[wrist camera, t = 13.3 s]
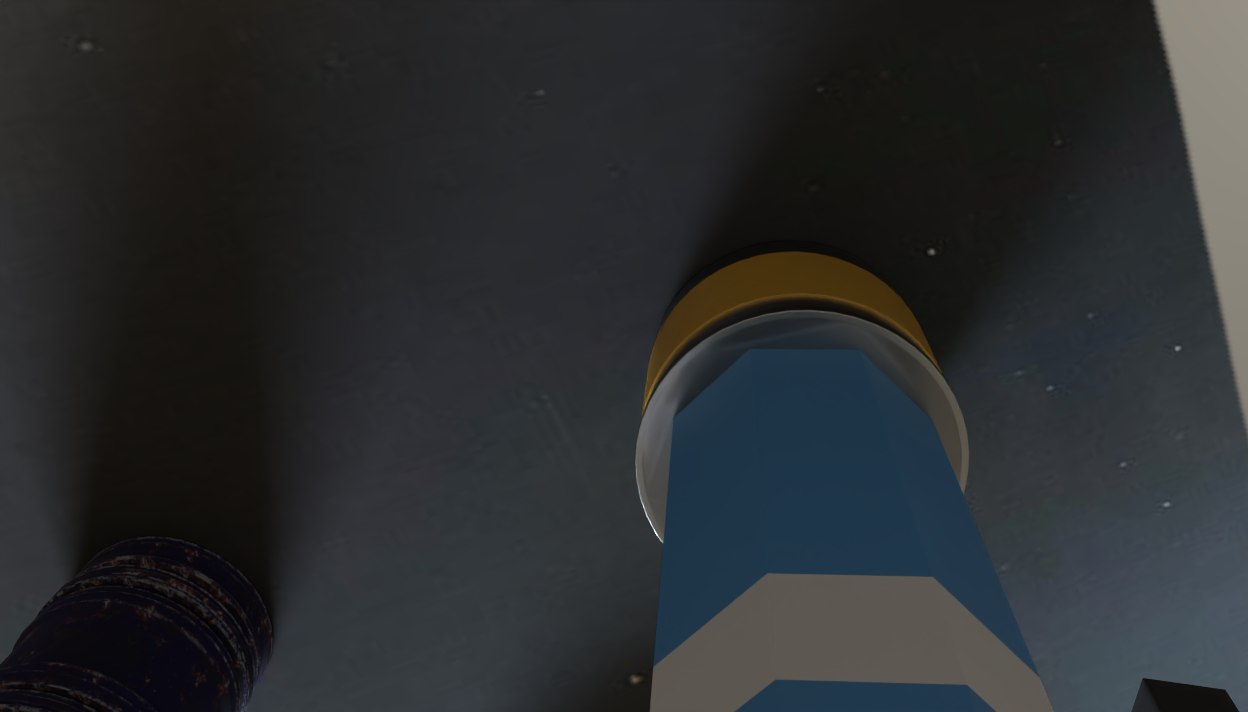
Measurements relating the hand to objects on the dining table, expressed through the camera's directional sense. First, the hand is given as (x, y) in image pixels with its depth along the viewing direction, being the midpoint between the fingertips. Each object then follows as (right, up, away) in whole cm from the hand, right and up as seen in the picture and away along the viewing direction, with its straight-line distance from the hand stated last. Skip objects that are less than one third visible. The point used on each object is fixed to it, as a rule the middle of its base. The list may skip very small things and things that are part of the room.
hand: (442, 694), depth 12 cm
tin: (+8, +3, +37) cm, 38 cm away
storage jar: (-19, -9, +44) cm, 49 cm away
